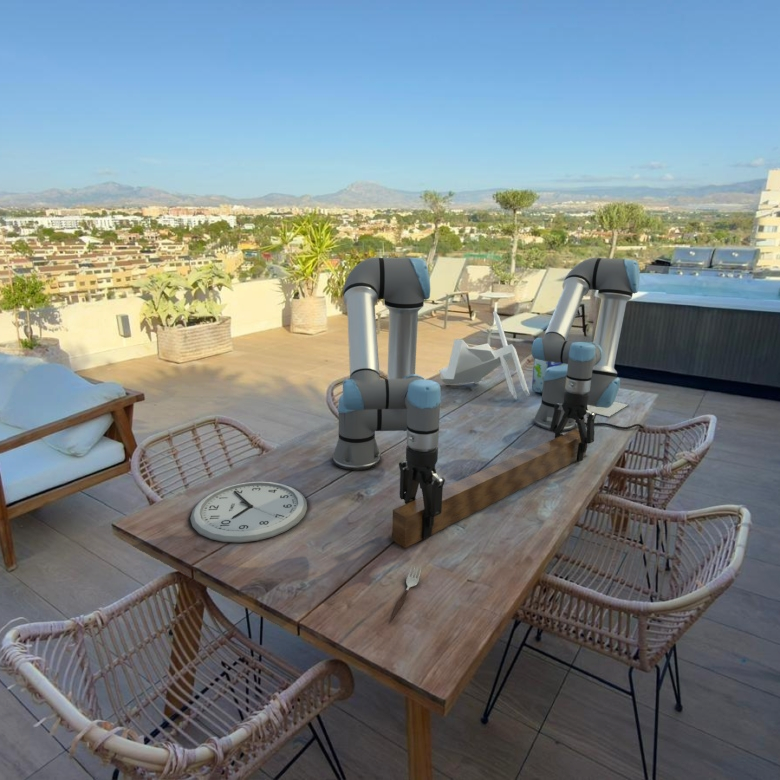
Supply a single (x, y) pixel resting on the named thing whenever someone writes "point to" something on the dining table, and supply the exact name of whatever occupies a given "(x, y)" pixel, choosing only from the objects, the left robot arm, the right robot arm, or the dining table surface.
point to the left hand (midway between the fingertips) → (418, 531)
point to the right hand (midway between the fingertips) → (568, 456)
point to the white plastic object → (482, 362)
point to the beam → (486, 487)
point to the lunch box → (541, 373)
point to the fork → (410, 583)
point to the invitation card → (607, 409)
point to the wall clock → (248, 512)
